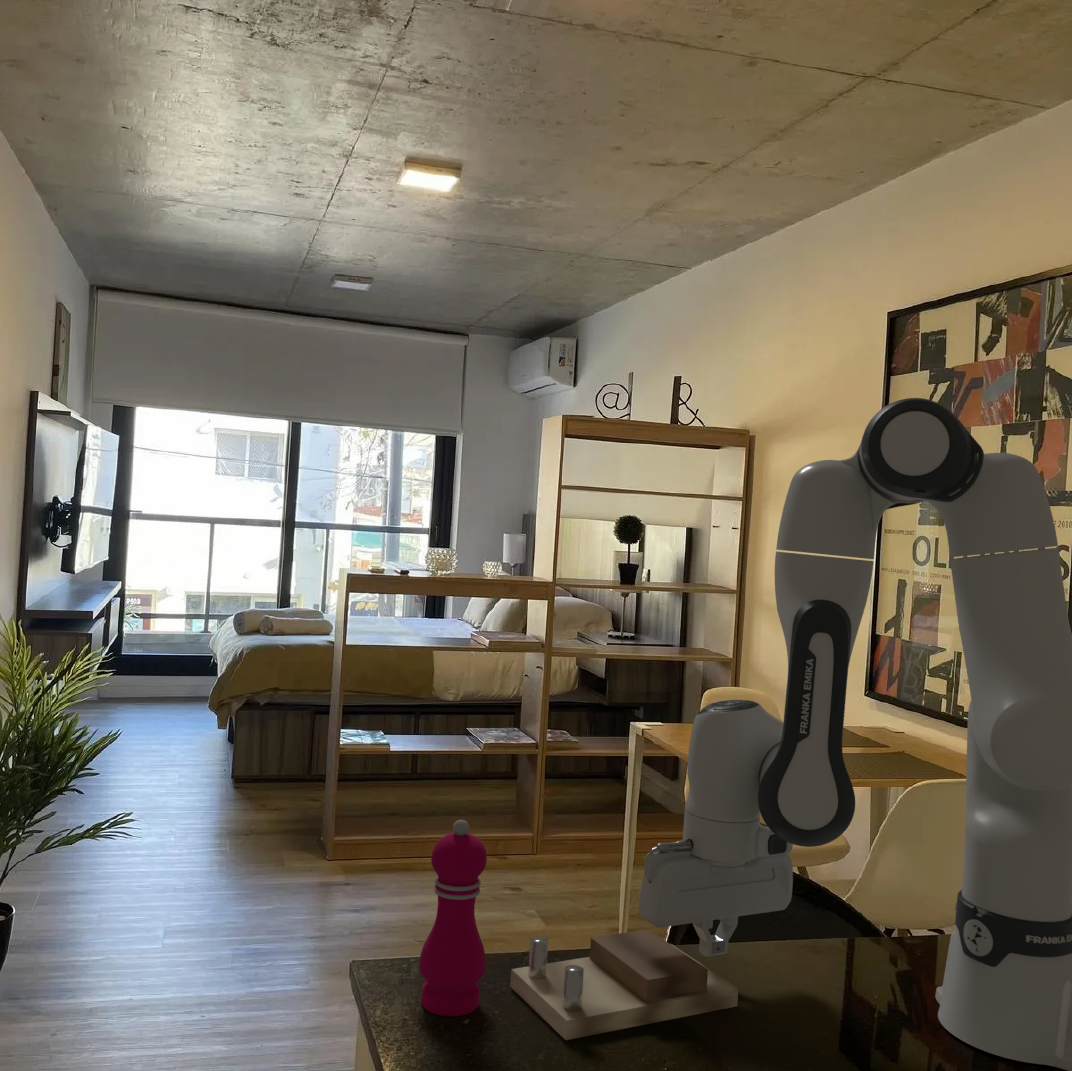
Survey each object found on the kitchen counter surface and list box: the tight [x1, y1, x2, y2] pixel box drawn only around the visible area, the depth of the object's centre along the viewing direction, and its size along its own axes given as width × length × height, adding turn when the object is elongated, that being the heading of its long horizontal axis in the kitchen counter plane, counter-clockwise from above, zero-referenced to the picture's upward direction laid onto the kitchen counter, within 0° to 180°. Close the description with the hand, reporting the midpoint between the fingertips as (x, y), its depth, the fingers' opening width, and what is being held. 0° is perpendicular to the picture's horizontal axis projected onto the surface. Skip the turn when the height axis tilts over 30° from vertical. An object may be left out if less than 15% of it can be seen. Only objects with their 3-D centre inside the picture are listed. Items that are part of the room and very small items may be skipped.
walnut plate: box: [589, 929, 709, 1003], centre depth 117 cm, size 8×12×2 cm, turn 27°
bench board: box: [509, 936, 739, 1041], centre depth 115 cm, size 22×13×6 cm, turn 117°
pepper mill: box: [418, 819, 488, 1017], centre depth 111 cm, size 7×7×20 cm
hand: (713, 953), depth 121 cm, fingers closed
